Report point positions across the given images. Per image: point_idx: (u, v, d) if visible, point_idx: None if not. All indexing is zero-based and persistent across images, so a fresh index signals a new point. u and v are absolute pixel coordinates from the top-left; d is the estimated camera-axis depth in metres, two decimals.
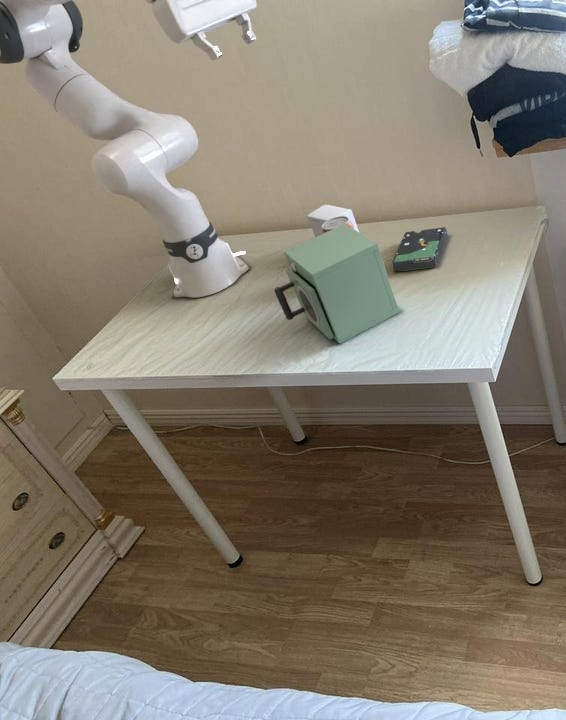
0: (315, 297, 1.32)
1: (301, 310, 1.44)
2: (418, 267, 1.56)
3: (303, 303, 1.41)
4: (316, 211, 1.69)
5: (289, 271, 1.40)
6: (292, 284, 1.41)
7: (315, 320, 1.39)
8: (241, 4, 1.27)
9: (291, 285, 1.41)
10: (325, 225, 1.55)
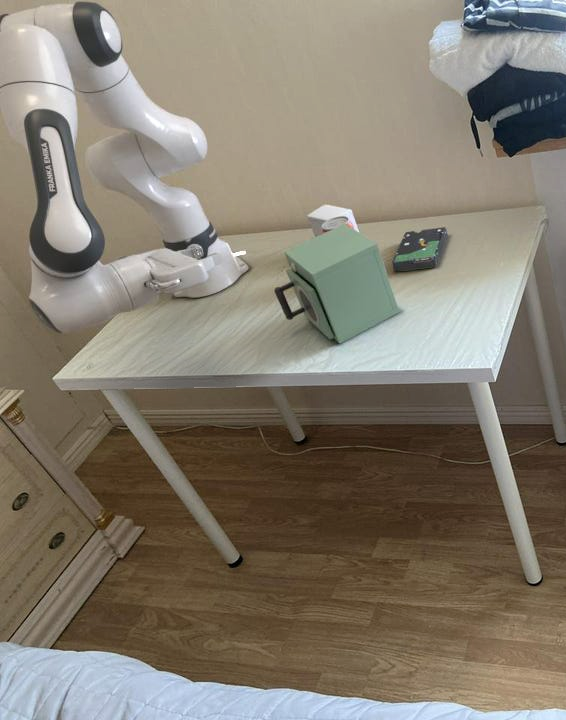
0: (315, 297, 1.32)
1: (301, 310, 1.44)
2: (418, 267, 1.56)
3: (303, 303, 1.41)
4: (316, 211, 1.69)
5: (289, 271, 1.40)
6: (292, 284, 1.41)
7: (315, 320, 1.39)
8: None
9: (291, 285, 1.41)
10: (325, 225, 1.55)
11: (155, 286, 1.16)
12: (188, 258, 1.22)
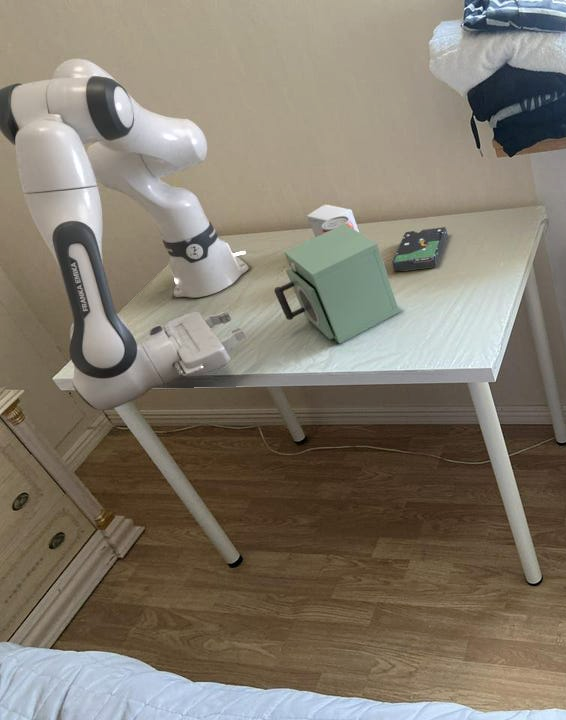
0: (315, 297, 1.32)
1: (301, 310, 1.44)
2: (418, 267, 1.56)
3: (303, 303, 1.41)
4: (316, 211, 1.69)
5: (289, 271, 1.40)
6: (292, 284, 1.41)
7: (315, 320, 1.39)
8: None
9: (291, 285, 1.41)
10: (325, 225, 1.55)
11: (181, 373, 1.26)
12: (212, 338, 1.31)
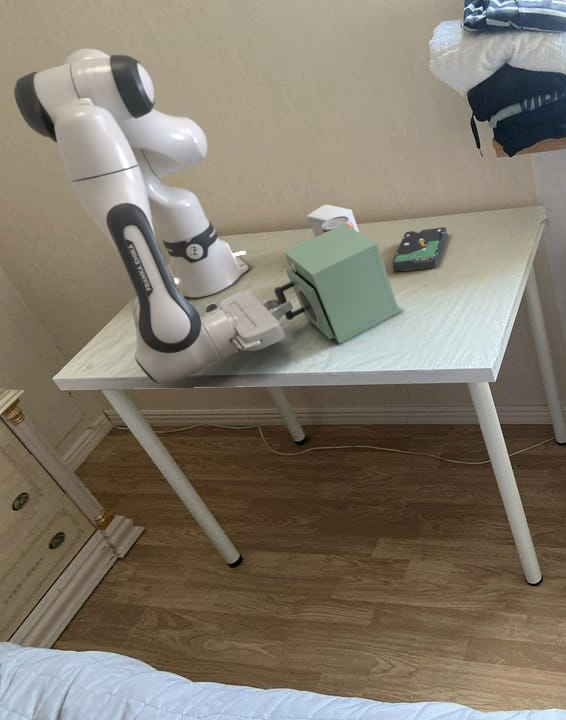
0: (315, 297, 1.32)
1: (301, 310, 1.44)
2: (418, 267, 1.56)
3: (303, 303, 1.41)
4: (316, 211, 1.69)
5: (289, 271, 1.40)
6: (292, 284, 1.41)
7: (315, 320, 1.39)
8: None
9: (291, 285, 1.41)
10: (325, 225, 1.55)
11: (239, 347, 1.31)
12: (267, 315, 1.35)
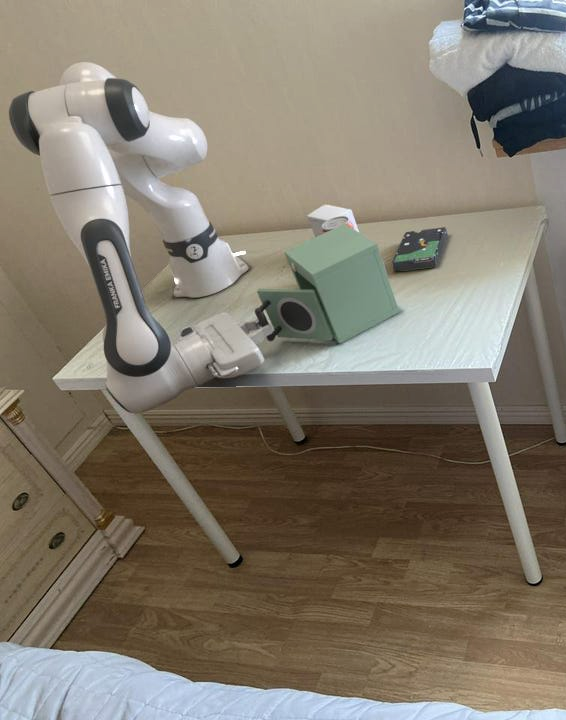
0: (316, 297, 1.32)
1: (279, 329, 1.40)
2: (418, 267, 1.56)
3: (285, 318, 1.38)
4: (316, 211, 1.69)
5: (262, 290, 1.36)
6: (268, 302, 1.36)
7: (307, 328, 1.37)
8: None
9: (268, 303, 1.36)
10: (325, 225, 1.55)
11: (216, 374, 1.25)
12: (245, 339, 1.30)
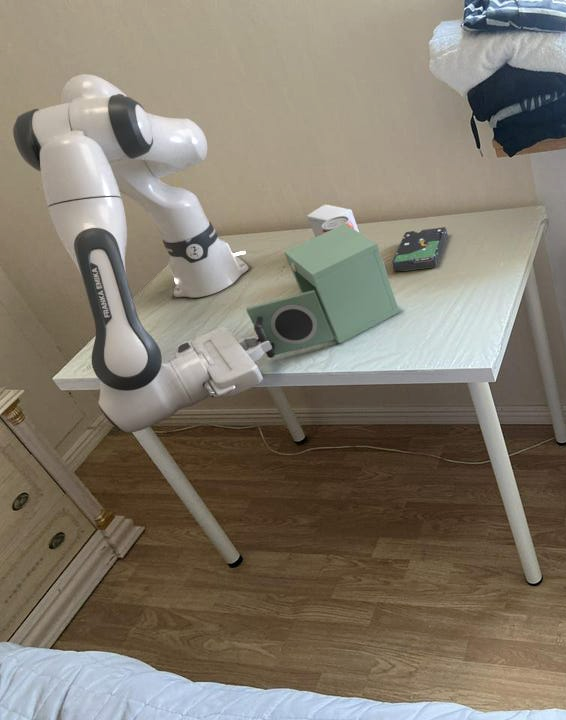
0: (317, 297, 1.32)
1: (273, 345, 1.35)
2: (418, 267, 1.56)
3: (281, 330, 1.34)
4: (316, 211, 1.69)
5: (253, 307, 1.31)
6: (261, 318, 1.32)
7: (307, 334, 1.35)
8: None
9: (261, 319, 1.32)
10: (325, 225, 1.55)
11: (212, 393, 1.20)
12: (244, 356, 1.25)
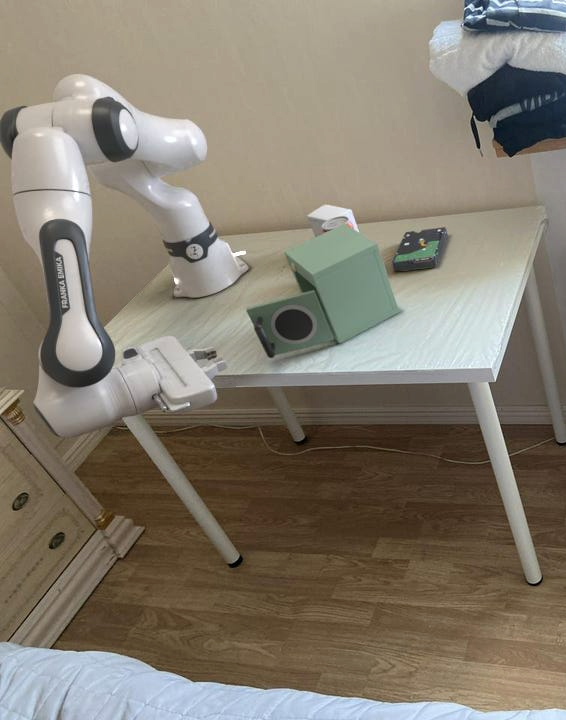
0: (317, 297, 1.32)
1: (273, 345, 1.35)
2: (418, 267, 1.56)
3: (281, 330, 1.34)
4: (316, 211, 1.69)
5: (253, 307, 1.31)
6: (261, 318, 1.32)
7: (307, 334, 1.35)
8: None
9: (261, 319, 1.32)
10: (325, 225, 1.55)
11: (164, 408, 1.17)
12: (199, 373, 1.22)
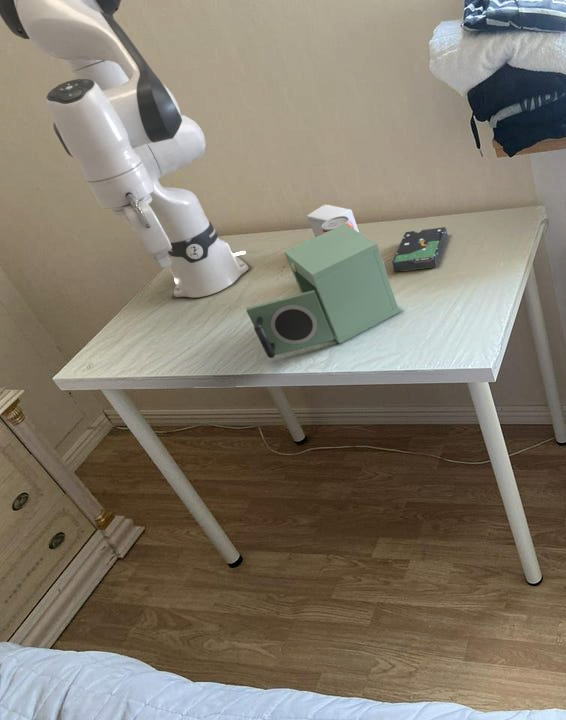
0: (317, 297, 1.32)
1: (273, 345, 1.35)
2: (418, 267, 1.56)
3: (281, 330, 1.34)
4: (316, 211, 1.69)
5: (253, 307, 1.31)
6: (261, 318, 1.32)
7: (307, 334, 1.35)
8: (143, 244, 1.12)
9: (261, 319, 1.32)
10: (325, 225, 1.55)
11: (137, 202, 1.06)
12: None
